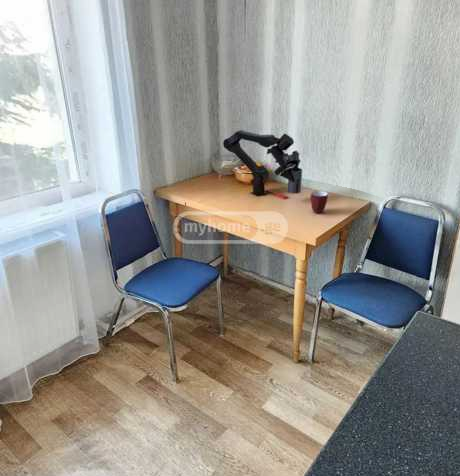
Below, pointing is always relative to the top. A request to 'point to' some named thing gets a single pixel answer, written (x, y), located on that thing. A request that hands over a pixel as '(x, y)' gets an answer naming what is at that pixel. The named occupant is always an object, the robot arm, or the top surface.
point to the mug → (318, 201)
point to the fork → (277, 194)
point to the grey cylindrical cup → (296, 185)
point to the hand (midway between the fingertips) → (297, 179)
